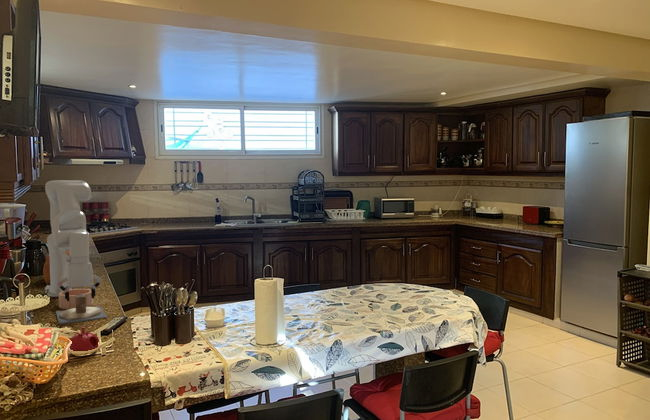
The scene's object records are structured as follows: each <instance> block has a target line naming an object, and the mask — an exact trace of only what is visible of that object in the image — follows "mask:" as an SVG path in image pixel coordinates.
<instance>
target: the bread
mask: <svg viewBox="0 0 650 420" xmlns="http://www.w3.org/2000/svg"><path fill="white" fill-rule="evenodd" d="M65 253H66V254H67V255H68V256H70V255H69V251H65ZM42 271H43V280H44V282H45V283H46V284H48V285H50V257H49V253H47V255H46V258H45V262H44V264H43V268H42Z"/></svg>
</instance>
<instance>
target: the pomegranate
mask: <svg viewBox="0 0 650 420" xmlns="http://www.w3.org/2000/svg"><path fill="white" fill-rule="evenodd" d="M80 330H81V332H76V331H74V332H72V334H74V335H73V336H71V337H70V338H69V339H70V340H71V341H72V344H71V346H70V349H71V350H73V351H88V350H92V349H95V348H97V347H98V342H99V343H100V338H99V337H98V336H97V335H96V334H95V333H93V332H96V331H95V330H92V329H91V330H89V331H85V326H82V327H81V329H80ZM98 348H99V347H98Z"/></svg>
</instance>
